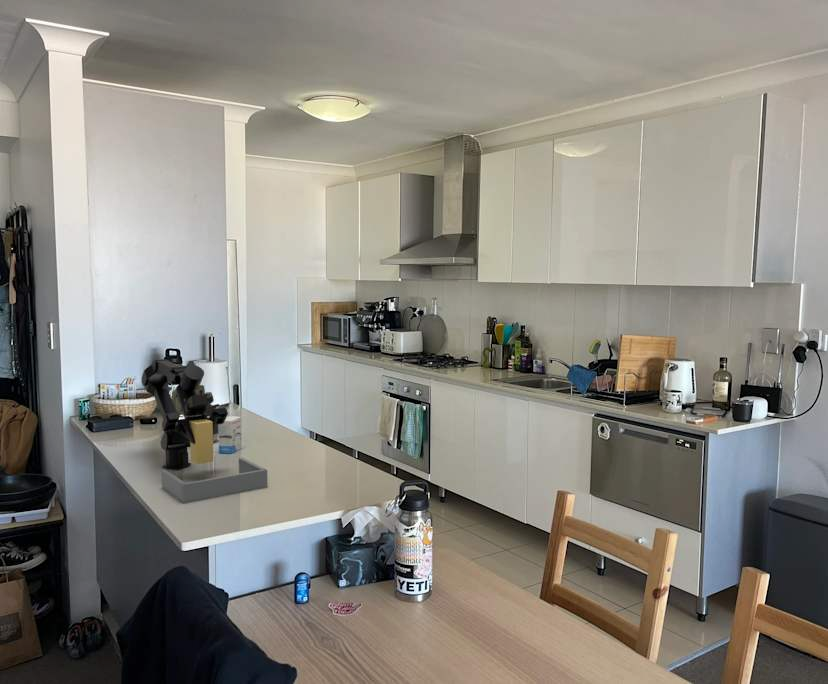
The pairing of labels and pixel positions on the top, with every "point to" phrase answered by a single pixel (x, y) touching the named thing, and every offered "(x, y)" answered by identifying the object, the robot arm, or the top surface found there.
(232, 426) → the ink box
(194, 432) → the ochre block
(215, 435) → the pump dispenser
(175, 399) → the tabletop clock
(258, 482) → the open box
